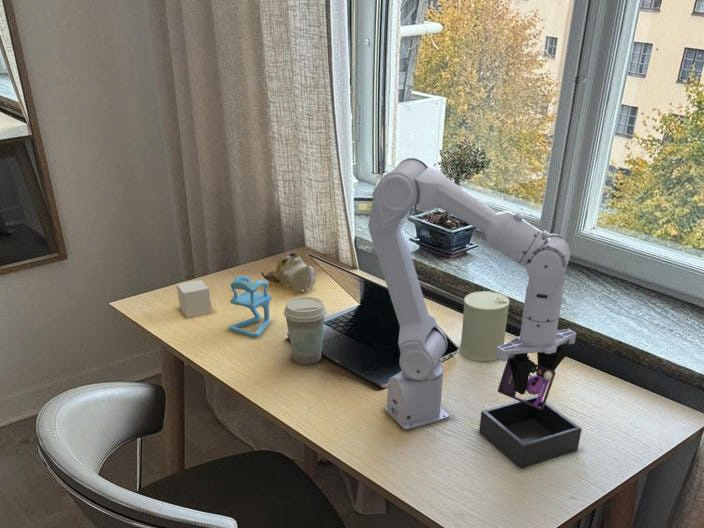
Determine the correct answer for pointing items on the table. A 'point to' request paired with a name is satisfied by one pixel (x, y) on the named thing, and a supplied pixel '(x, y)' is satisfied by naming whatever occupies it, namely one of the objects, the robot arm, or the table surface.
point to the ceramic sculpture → (292, 274)
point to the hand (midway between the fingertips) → (530, 388)
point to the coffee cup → (305, 328)
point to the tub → (529, 432)
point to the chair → (250, 304)
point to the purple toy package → (528, 384)
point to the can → (483, 325)
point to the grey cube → (194, 298)
